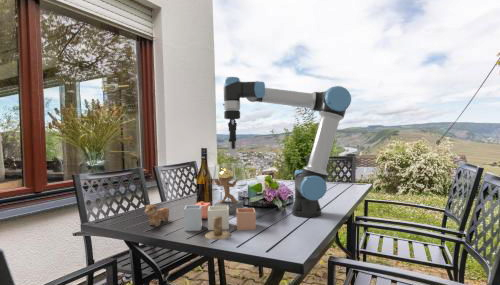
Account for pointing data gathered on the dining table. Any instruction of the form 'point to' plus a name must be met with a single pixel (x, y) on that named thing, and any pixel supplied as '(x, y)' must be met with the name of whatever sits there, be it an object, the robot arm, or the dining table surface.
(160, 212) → the figurine
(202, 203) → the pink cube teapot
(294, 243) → the dining table surface
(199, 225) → the light blue square vase
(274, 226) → the dining table surface
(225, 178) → the figurine
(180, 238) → the dining table surface
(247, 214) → the terracotta pot
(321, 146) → the robot arm
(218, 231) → the lid
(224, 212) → the cream square box
